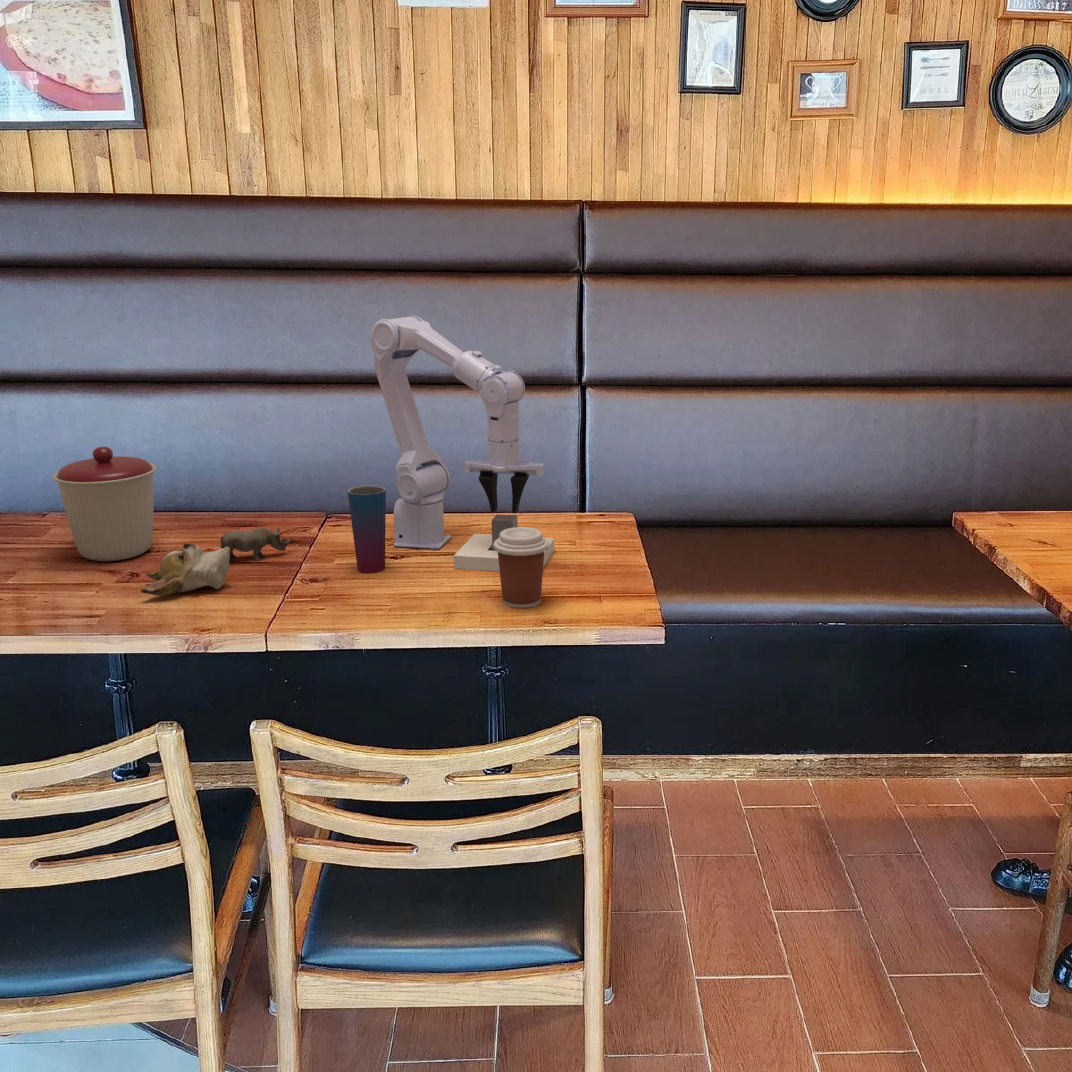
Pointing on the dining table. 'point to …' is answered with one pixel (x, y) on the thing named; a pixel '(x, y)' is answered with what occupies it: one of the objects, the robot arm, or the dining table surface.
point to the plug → (502, 525)
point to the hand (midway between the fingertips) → (504, 511)
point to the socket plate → (485, 554)
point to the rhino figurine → (253, 541)
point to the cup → (368, 526)
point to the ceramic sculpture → (189, 570)
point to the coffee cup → (521, 565)
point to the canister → (108, 505)
